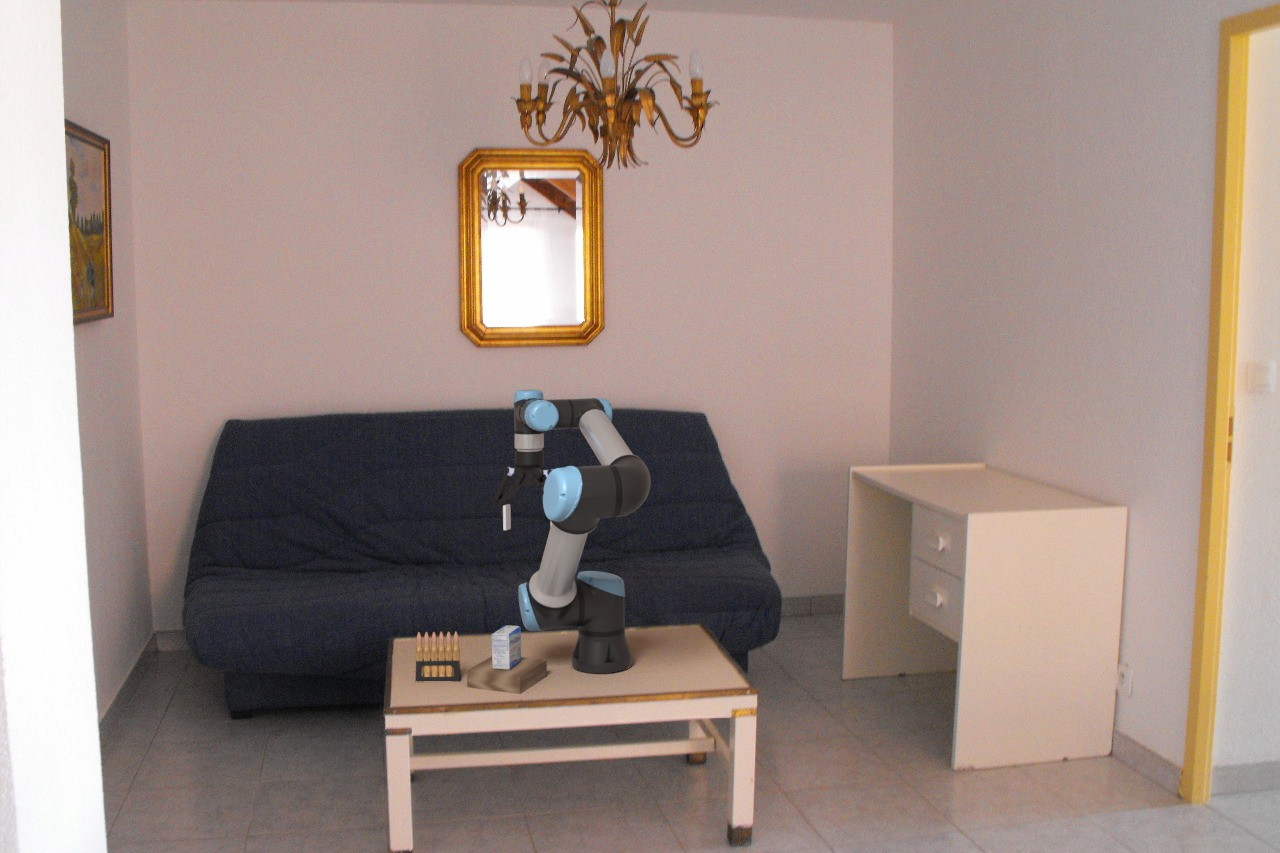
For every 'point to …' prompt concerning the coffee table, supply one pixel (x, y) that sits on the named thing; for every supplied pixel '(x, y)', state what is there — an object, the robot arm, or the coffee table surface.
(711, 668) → the coffee table surface
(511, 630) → the medicine box
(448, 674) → the ammunition clip
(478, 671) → the walnut base
